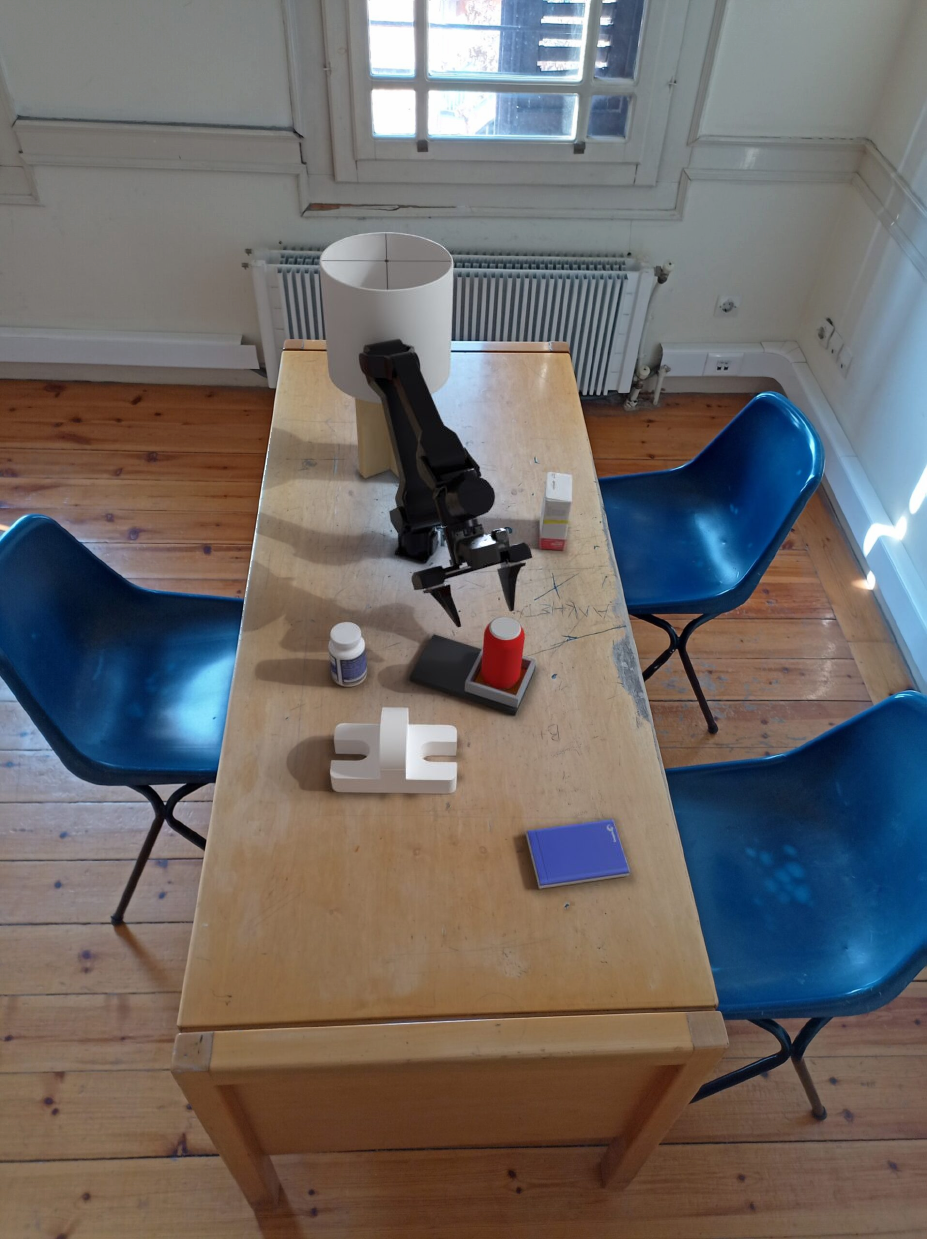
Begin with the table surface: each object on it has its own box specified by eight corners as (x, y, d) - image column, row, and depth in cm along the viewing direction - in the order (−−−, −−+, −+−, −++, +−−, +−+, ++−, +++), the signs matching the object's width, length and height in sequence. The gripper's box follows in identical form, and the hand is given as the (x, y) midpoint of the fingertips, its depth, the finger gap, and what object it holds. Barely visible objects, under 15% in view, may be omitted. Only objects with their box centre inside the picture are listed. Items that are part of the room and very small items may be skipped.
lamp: (469, 475, 176) (479, 270, 145) (372, 513, 166) (361, 302, 135) (410, 421, 188) (408, 222, 157) (316, 453, 179) (295, 248, 148)
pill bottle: (372, 666, 140) (370, 624, 133) (358, 692, 136) (355, 650, 129) (340, 657, 141) (336, 615, 134) (325, 682, 137) (320, 640, 130)
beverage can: (514, 696, 135) (521, 646, 126) (476, 688, 136) (480, 637, 127) (522, 668, 139) (529, 617, 130) (485, 660, 140) (489, 608, 131)
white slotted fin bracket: (337, 737, 130) (332, 692, 122) (456, 739, 130) (458, 695, 123) (331, 792, 123) (325, 748, 116) (456, 793, 124) (458, 751, 116)
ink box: (564, 551, 161) (572, 502, 152) (538, 549, 161) (545, 499, 152) (565, 522, 167) (572, 472, 158) (539, 520, 167) (546, 470, 158)
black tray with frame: (409, 681, 138) (409, 667, 136) (433, 638, 145) (433, 624, 142) (515, 715, 134) (517, 702, 132) (534, 670, 140) (537, 657, 138)
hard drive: (612, 817, 120) (526, 829, 119) (630, 871, 115) (540, 884, 113) (611, 823, 121) (525, 835, 120) (628, 876, 116) (539, 889, 114)
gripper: (418, 532, 123) (447, 636, 125) (533, 502, 129) (559, 601, 131) (399, 539, 134) (425, 635, 135) (505, 511, 140) (530, 603, 141)
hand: (485, 618), depth 135 cm, fingers open, 9 cm apart
